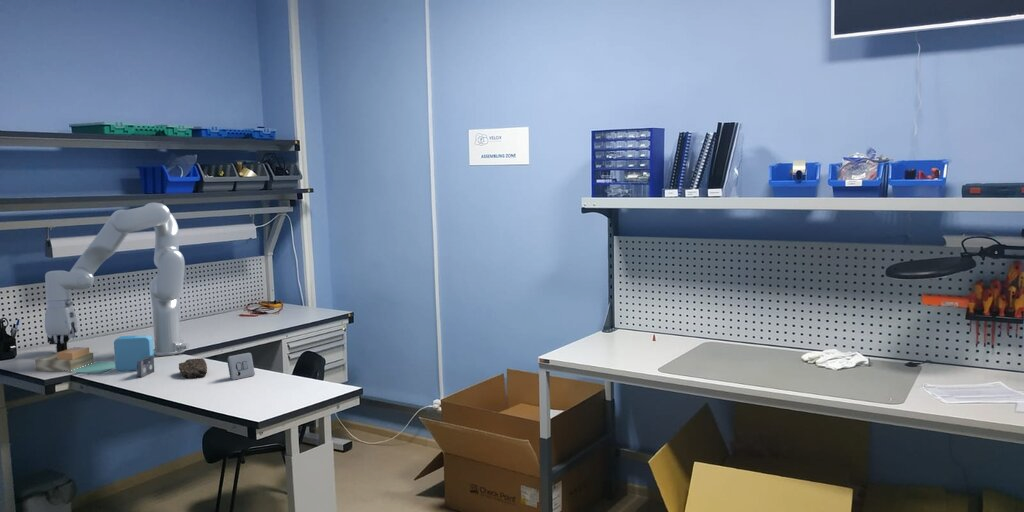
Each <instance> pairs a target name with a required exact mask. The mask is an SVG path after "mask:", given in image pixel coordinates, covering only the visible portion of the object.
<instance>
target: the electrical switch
mask: <svg viewBox="0 0 1024 512" xmlns="http://www.w3.org/2000/svg"><path fill="white" fill-rule="evenodd" d="M226 363H227V367H228V374H229V378H230V379H231V380H232V381H235V380H240V379H245V378H249V377H254V376H255V374H256V373H255V367H254V366H255V365H254V361H253V355H252V353H251V352H246V353H239V354H236V355H235V354H234V355H229V356H228V357H227V359H226Z"/></svg>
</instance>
